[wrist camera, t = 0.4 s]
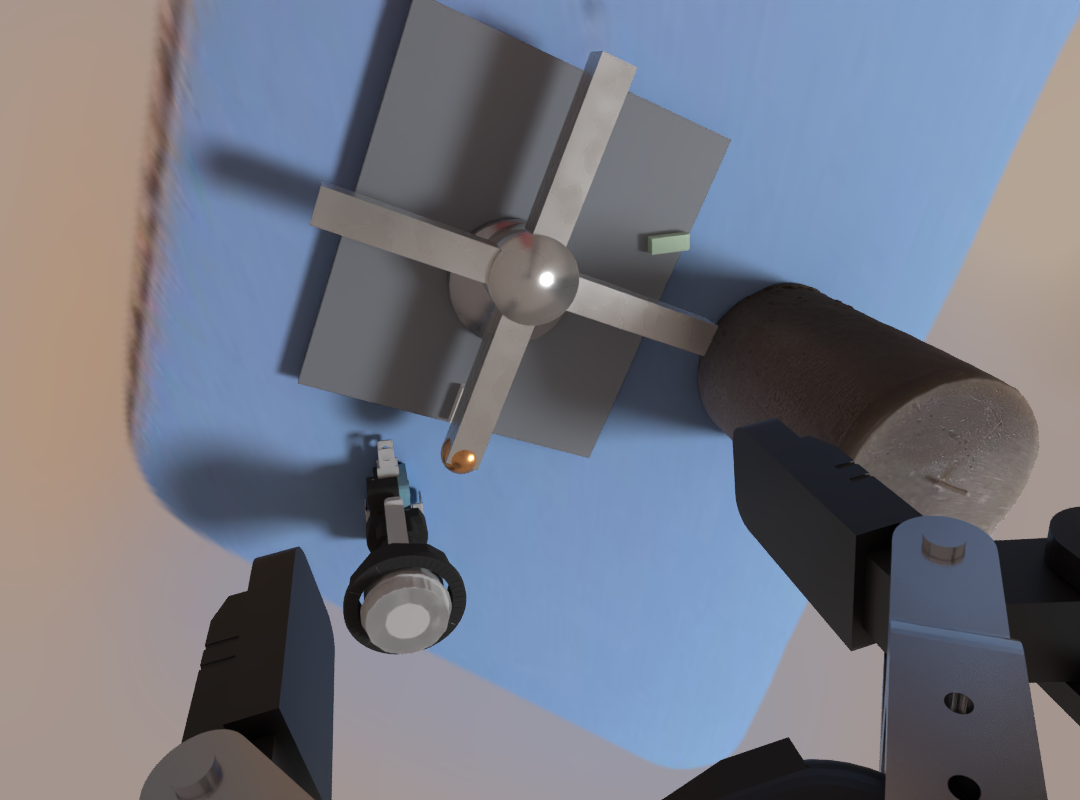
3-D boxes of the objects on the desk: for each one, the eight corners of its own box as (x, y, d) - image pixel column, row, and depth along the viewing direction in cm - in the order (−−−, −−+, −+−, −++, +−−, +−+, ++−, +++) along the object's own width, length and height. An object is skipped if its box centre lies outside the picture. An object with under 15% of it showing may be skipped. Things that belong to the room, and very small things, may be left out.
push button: (333, 442, 38) (331, 554, 29) (436, 429, 39) (464, 533, 30) (348, 548, 41) (351, 680, 32) (444, 533, 42) (473, 657, 33)
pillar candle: (775, 249, 40) (988, 341, 27) (878, 342, 44) (1107, 462, 31) (661, 388, 42) (807, 539, 28) (770, 465, 46) (942, 628, 33)
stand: (413, -6, 31) (417, -10, 30) (723, 138, 37) (738, 141, 35) (298, 375, 36) (297, 388, 35) (584, 450, 42) (593, 463, 41)
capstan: (383, -39, 29) (389, -54, 26) (760, 141, 36) (806, 148, 33) (259, 397, 35) (250, 434, 32) (604, 481, 42) (628, 519, 38)
